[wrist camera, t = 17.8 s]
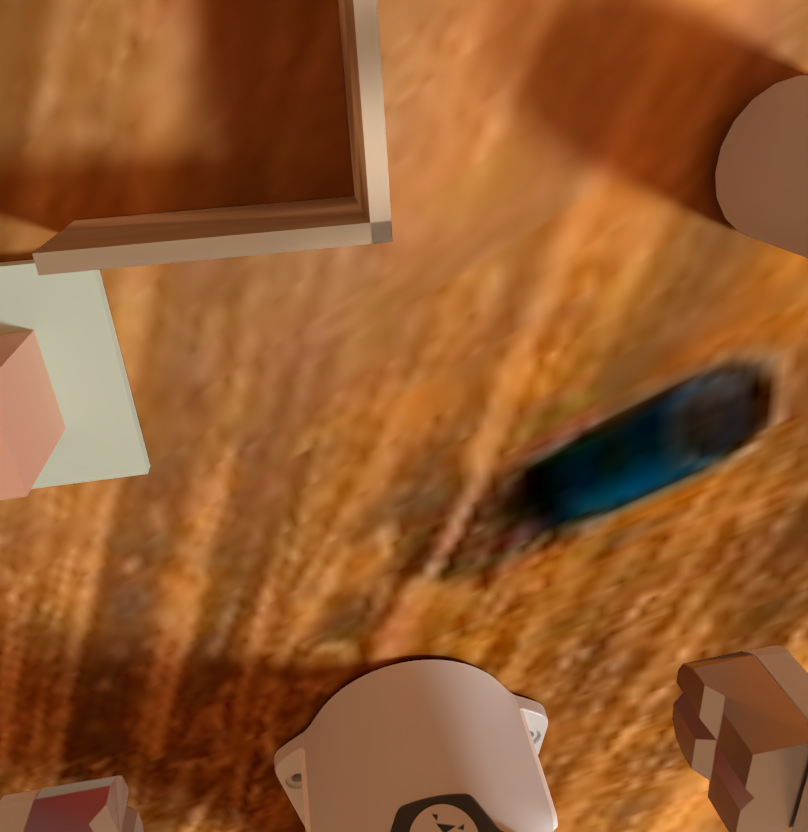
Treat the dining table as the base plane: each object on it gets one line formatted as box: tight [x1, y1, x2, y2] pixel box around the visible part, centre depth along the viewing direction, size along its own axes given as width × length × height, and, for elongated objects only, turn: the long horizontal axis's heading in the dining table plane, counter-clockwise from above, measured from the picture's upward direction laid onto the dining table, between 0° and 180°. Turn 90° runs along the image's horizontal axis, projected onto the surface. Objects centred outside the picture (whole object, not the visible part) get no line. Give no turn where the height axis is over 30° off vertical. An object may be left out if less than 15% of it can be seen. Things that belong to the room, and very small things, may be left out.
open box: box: [32, 0, 393, 275], centre depth 26 cm, size 14×13×6 cm
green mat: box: [0, 259, 150, 489], centre depth 33 cm, size 11×11×1 cm
